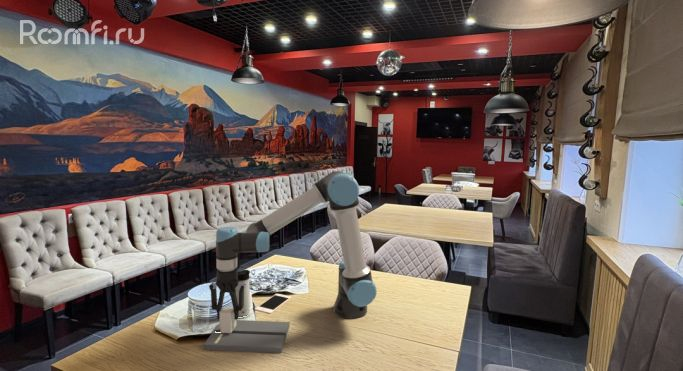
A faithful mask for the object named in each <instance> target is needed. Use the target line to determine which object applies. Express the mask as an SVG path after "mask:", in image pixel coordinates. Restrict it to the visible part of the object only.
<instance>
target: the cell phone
mask: <svg viewBox="0 0 683 371" xmlns="http://www.w3.org/2000/svg"><path fill="white" fill-rule="evenodd" d="M291 299H292V296H290V295H285V294H282V293H275V294H273V295H272V296H271V297H269V298H268V299H266V300H265V301H264V302H262V303H260V304H259V305H257V306H256V307H255V308H254V311H258V312H262V313H266V314H268V315H271V314H273V313H274V312H275V311H276V310H278V309H279V308H281V307H282V306H283V305H284V304H286V303H287V302H288V301H290V300H291Z"/></svg>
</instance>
